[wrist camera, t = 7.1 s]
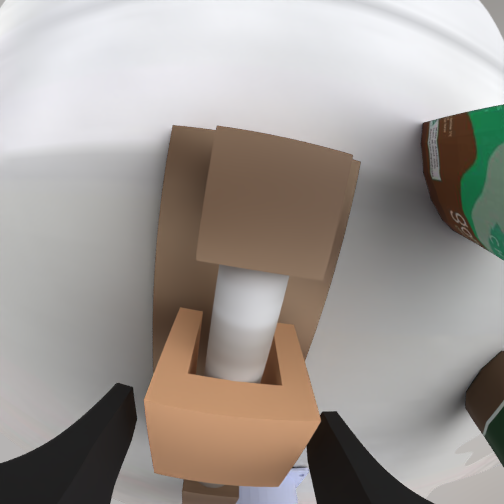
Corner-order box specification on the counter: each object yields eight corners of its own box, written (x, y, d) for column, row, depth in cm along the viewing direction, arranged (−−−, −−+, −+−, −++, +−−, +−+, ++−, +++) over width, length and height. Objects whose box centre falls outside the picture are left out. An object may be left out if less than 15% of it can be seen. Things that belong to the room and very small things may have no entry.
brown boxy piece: (265, 443, 18) (270, 514, 12) (160, 429, 17) (143, 499, 11) (352, 161, 12) (439, 165, 6) (178, 128, 11) (115, 97, 5)
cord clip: (269, 399, 14) (278, 487, 8) (175, 387, 13) (154, 473, 8) (293, 324, 12) (321, 420, 7) (180, 307, 12) (143, 399, 6)
